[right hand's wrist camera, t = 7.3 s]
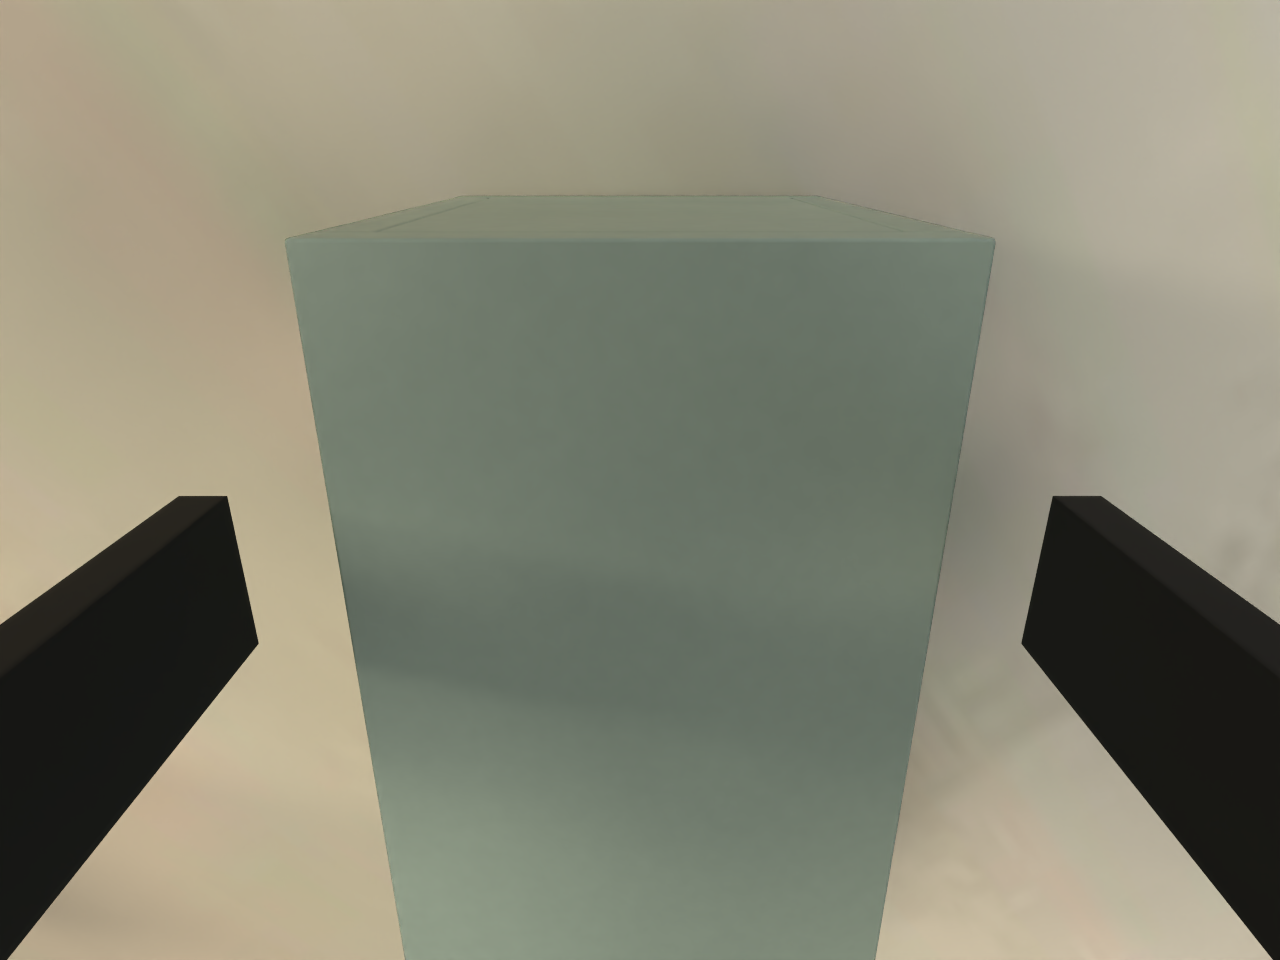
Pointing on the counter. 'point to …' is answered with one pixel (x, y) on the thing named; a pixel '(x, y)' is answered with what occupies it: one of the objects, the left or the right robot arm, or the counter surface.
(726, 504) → the cabinet
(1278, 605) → the counter surface
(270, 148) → the counter surface
